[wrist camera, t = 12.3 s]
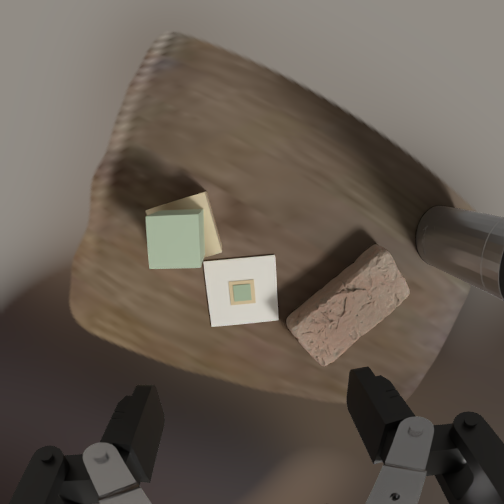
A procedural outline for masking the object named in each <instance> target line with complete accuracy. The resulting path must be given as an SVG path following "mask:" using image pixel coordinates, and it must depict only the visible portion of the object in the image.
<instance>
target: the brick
mask: <svg viewBox="0 0 504 504" xmlns="http://www.w3.org/2000/svg"><path fill="white" fill-rule="evenodd" d="M409 292H410V290H409V288H408V286H407V283H406V280H405V278H404V277H403V276H402V275H401V273H400V271H399V269H398V268H397V266H396V264H395V261H394V259H393V258H392V256H391V254H390V253H389V251H388V250H386V249H385V248H383V247H381V246H379V245H377V244H374V245H373V246H371V247H370V248H369V249H367V250H366V251H364V252H363V253H362V254H361V255H360V256H359V257H358V258H357V259H356V260H355V262H354V263H352V264H351V265H350V266H348V267H347V268H345V269H344V270H343V271H342V272H341V273H340V274H339V275H338V276H337V277H335V278H333V279H332V280H331V281H330V282H329V283H327V284H326V285H325V286H324V287H323V288H322V289H320V290H319V291H318V292H316V293H315V294H314V295H313V296H312V297H310V298H309V299H308V300H307V301H305V302H304V303H303V304H302V305H301V306H300V307H298V308H297V309H296V310H295V311H293V312H292V313H291V314H290V315H289V316H288V317H287V319H286V324H287V327H288V329H289V330H290V331H291V333H292V334H293V335H294V336H295V337H296V338H297V340H298V342H299V343H300V344H301V345H302V346H303V347H304V348H305V349H306V350H307V351H308V353H309V354H310V355H311V356H312V357H313V358H314V359H315V360H316V361H317V362H318V363H319V364H320V365H321V366H326V365H328V364H329V363H332V362H333V361H334V360H336V359H337V358H338V357H339V356H340V355H342V354H343V353H344V352H345V351H346V350H347V349H348V348H349V347H350V346H351V345H352V344H353V343H354V342H356V341H357V340H358V338H359V337H360V336H362V335H364V334H365V333H366V332H368V331H369V330H370V329H372V328H373V327H374V326H376V325H377V324H378V323H379V322H380V321H382V320H383V319H384V318H385V317H386V316H387V315H389V314H390V313H391V312H392V311H394V310H395V307H398V306H399V305H400V304H401V303H402V301H403V300H404V299H406V298H407V297H408V295H409Z"/></svg>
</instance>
